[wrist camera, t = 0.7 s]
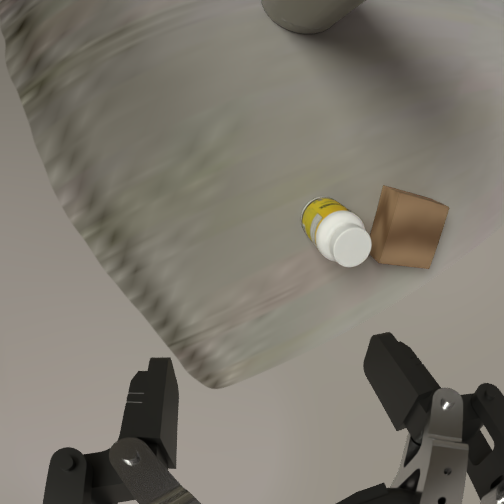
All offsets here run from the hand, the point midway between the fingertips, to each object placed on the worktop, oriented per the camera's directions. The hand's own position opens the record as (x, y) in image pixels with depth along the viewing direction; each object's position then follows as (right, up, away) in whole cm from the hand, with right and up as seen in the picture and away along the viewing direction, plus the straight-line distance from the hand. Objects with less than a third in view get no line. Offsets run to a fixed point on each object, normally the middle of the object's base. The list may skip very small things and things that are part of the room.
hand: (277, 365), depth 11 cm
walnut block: (+19, +8, +26) cm, 33 cm away
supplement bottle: (+7, +9, +24) cm, 27 cm away
